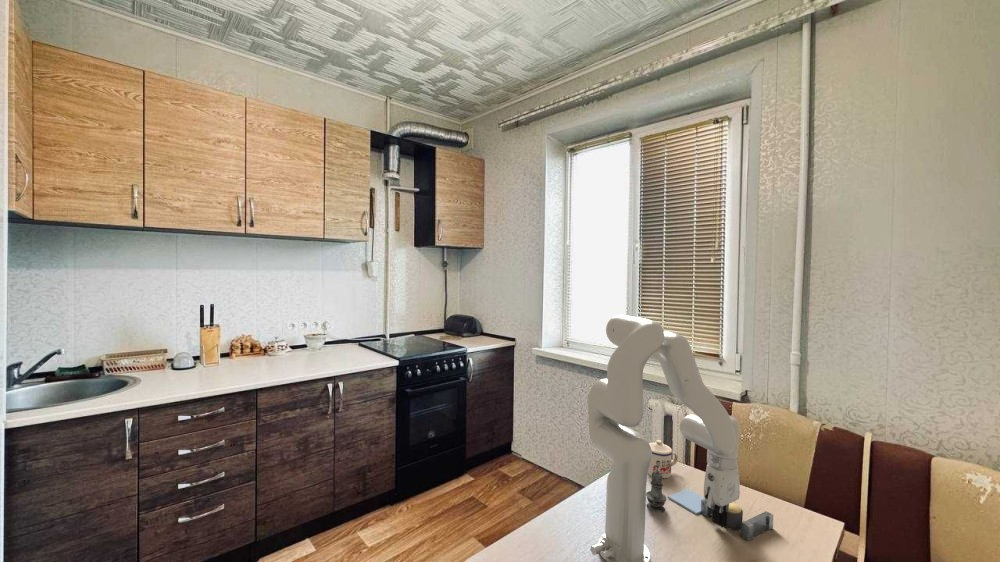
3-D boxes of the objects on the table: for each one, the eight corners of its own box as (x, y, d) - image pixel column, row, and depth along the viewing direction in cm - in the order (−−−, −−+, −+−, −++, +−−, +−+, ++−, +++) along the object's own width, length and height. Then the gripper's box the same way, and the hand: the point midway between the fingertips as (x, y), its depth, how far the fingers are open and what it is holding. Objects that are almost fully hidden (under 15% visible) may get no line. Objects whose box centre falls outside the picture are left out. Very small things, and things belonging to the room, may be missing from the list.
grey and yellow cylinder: (734, 532, 110) (735, 514, 110) (713, 520, 116) (714, 503, 116) (746, 526, 113) (747, 509, 113) (726, 514, 118) (726, 498, 118)
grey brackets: (748, 541, 107) (749, 526, 107) (700, 513, 119) (701, 500, 119) (772, 528, 113) (773, 514, 112) (724, 503, 125) (725, 490, 125)
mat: (696, 515, 118) (696, 513, 118) (667, 497, 127) (667, 496, 127) (716, 506, 123) (716, 504, 123) (687, 490, 132) (687, 488, 132)
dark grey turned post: (668, 515, 118) (669, 475, 117) (647, 512, 119) (648, 472, 119) (664, 503, 123) (665, 465, 123) (644, 501, 125) (645, 463, 124)
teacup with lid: (653, 480, 138) (654, 446, 137) (639, 467, 147) (640, 436, 146) (684, 478, 140) (685, 445, 139) (669, 465, 148) (670, 434, 148)
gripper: (718, 471, 105) (715, 540, 105) (751, 460, 112) (748, 524, 112) (692, 459, 111) (690, 523, 112) (724, 449, 118) (722, 509, 119)
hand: (719, 523), depth 112 cm, fingers closed
